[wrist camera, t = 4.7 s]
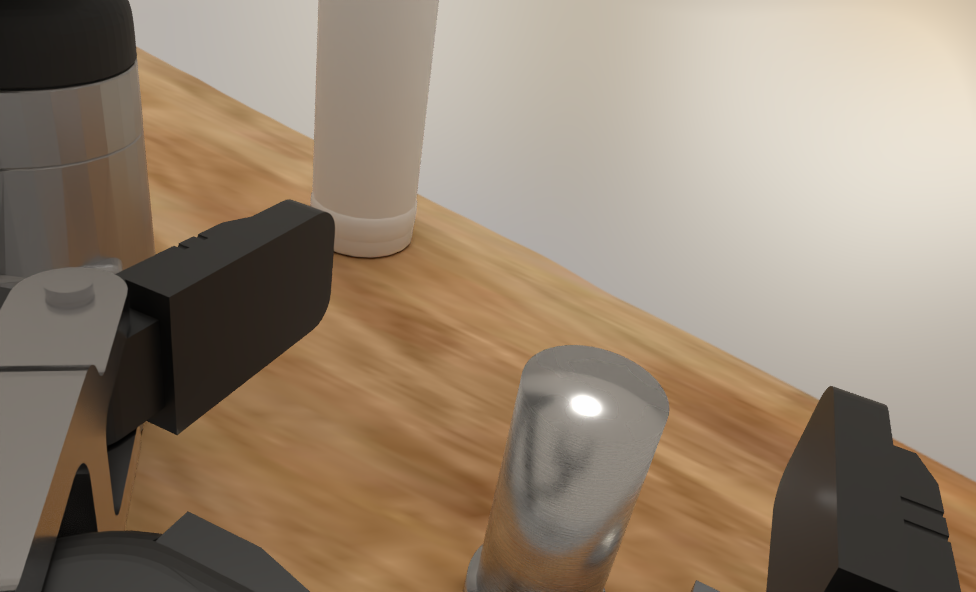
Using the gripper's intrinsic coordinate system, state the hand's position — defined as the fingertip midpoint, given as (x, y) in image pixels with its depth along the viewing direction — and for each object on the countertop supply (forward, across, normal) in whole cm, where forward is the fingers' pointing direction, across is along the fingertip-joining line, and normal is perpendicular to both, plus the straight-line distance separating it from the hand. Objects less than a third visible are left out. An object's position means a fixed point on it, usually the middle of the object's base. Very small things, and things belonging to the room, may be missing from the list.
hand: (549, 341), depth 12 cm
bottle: (+36, -23, -20) cm, 48 cm away
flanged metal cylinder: (+12, 0, -21) cm, 24 cm away
